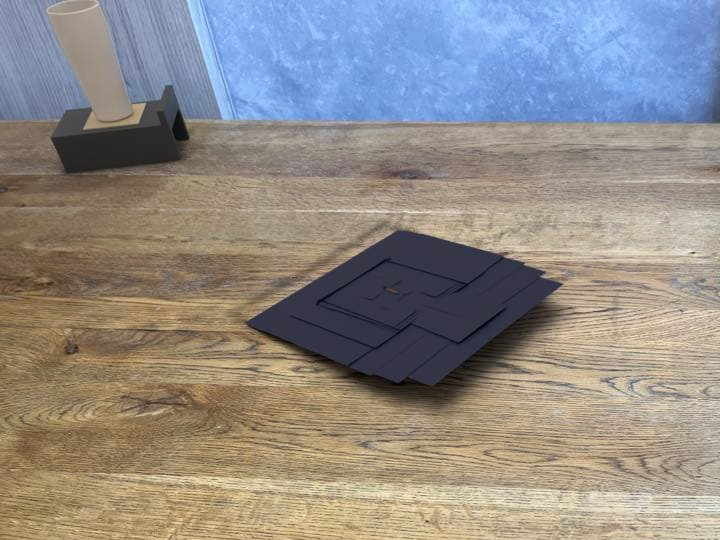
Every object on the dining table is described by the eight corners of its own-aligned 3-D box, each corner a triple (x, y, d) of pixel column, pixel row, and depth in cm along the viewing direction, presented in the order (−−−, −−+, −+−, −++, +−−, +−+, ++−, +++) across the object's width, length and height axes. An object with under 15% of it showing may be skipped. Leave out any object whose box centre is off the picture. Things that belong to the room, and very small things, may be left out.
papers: (424, 420, 76) (415, 389, 74) (238, 338, 93) (227, 311, 90) (577, 297, 90) (573, 268, 88) (392, 244, 106) (385, 219, 104)
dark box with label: (68, 178, 119) (43, 123, 113) (83, 149, 126) (60, 96, 121) (182, 164, 121) (163, 110, 115) (189, 136, 128) (172, 84, 123)
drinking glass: (83, 116, 120) (37, 6, 109) (128, 102, 123) (88, -5, 113) (101, 129, 116) (55, 17, 106) (147, 114, 119) (107, 5, 109)
